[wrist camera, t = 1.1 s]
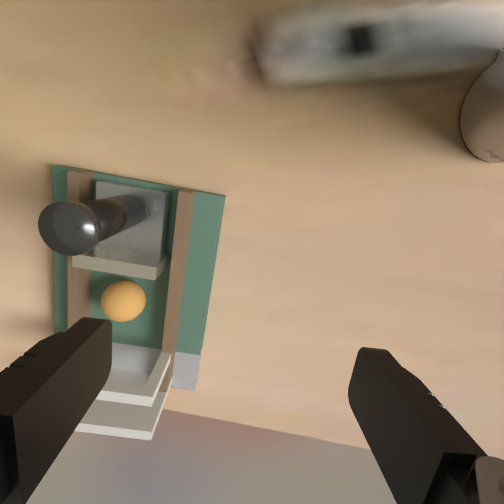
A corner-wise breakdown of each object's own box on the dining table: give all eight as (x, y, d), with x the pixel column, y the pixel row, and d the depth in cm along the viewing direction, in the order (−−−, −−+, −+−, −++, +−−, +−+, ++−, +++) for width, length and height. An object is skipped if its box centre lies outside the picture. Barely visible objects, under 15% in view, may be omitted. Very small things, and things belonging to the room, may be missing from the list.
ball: (113, 271, 28) (92, 287, 24) (153, 277, 28) (137, 294, 24) (112, 306, 29) (91, 326, 25) (150, 311, 29) (135, 332, 25)
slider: (100, 179, 25) (1, 183, 15) (175, 193, 25) (129, 206, 15) (97, 253, 27) (9, 300, 17) (168, 265, 27) (122, 317, 17)
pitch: (62, 165, 26) (-36, 161, 17) (225, 195, 27) (214, 206, 18) (64, 362, 32) (-8, 436, 23) (196, 381, 34) (177, 459, 24)
